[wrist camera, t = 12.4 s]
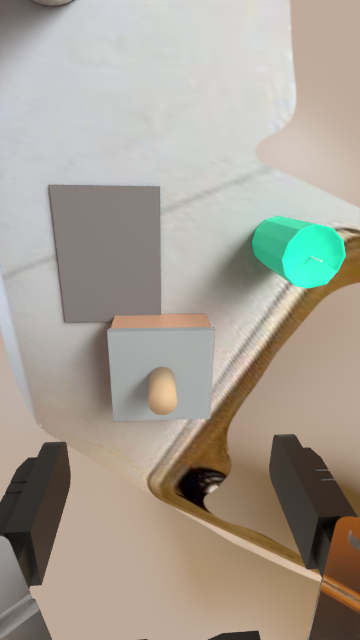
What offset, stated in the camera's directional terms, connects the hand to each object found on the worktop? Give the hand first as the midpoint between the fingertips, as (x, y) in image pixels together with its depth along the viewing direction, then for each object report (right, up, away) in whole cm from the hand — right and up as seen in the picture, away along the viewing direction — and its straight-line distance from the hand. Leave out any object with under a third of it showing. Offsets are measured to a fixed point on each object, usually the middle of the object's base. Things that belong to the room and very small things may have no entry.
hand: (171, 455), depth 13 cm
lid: (-2, -1, +27) cm, 27 cm away
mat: (-8, +13, +27) cm, 31 cm away
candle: (+12, +15, +28) cm, 34 cm away
